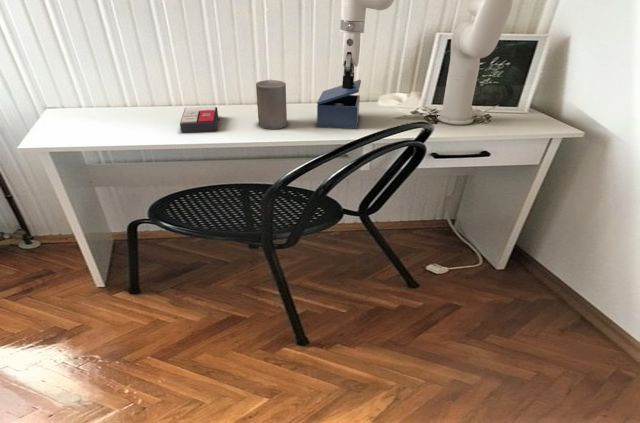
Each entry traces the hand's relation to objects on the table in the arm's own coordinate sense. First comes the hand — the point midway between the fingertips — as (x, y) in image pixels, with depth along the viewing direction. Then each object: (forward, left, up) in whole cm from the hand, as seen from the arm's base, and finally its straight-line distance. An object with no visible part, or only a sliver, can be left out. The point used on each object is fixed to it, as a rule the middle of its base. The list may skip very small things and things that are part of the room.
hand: (347, 85), depth 135 cm
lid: (+3, 0, -2) cm, 4 cm away
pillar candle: (+24, +7, -12) cm, 28 cm away
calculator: (+48, +11, -12) cm, 51 cm away
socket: (+3, 0, -11) cm, 12 cm away
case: (+3, 0, -12) cm, 12 cm away
